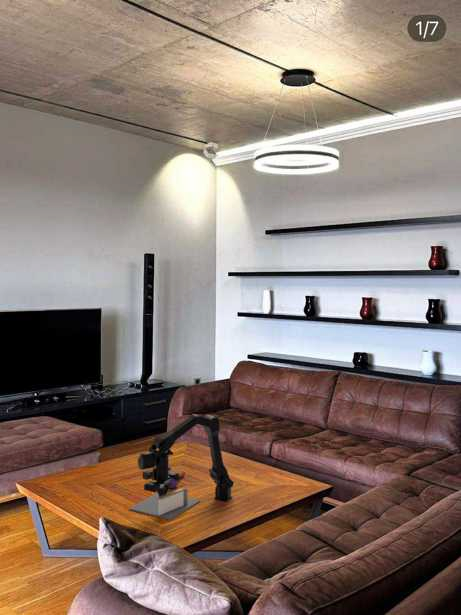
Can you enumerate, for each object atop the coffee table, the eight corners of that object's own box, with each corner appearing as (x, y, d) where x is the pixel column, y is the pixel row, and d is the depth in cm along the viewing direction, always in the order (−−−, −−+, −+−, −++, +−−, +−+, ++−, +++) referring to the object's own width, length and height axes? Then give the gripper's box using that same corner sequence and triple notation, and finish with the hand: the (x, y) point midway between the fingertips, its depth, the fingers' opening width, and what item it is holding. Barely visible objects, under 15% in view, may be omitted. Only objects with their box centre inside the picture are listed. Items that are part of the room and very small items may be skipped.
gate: (181, 504, 264) (181, 488, 264) (183, 505, 263) (183, 489, 263) (158, 514, 253) (158, 497, 253) (160, 515, 252) (160, 498, 252)
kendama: (188, 469, 304) (176, 478, 285) (186, 480, 305) (174, 490, 285) (177, 465, 306) (165, 475, 286) (175, 477, 306) (162, 487, 286)
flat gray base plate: (200, 501, 271) (200, 484, 270) (170, 520, 250) (170, 501, 249) (160, 492, 281) (161, 475, 281) (128, 509, 260) (128, 491, 260)
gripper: (159, 456, 269) (159, 490, 270) (133, 468, 253) (133, 504, 254) (180, 460, 263) (180, 495, 264) (154, 473, 247) (154, 509, 248)
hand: (162, 500), depth 258 cm, fingers closed
